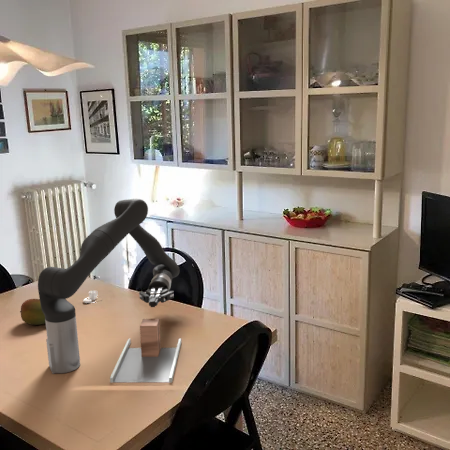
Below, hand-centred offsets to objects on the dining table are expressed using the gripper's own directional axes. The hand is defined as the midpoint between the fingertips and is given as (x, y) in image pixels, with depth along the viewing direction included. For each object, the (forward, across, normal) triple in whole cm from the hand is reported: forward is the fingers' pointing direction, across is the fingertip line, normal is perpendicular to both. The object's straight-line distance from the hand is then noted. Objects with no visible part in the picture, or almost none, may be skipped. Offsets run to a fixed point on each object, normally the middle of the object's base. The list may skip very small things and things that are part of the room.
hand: (152, 304), depth 171 cm
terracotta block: (+6, 0, +15) cm, 16 cm away
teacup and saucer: (-44, -37, +17) cm, 60 cm away
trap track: (+12, 0, +16) cm, 20 cm away
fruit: (-20, -49, +16) cm, 55 cm away
